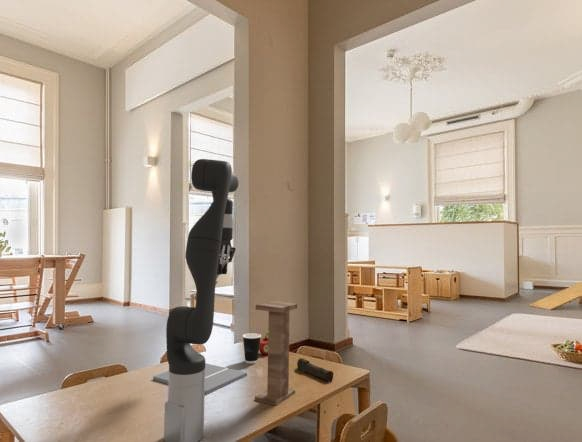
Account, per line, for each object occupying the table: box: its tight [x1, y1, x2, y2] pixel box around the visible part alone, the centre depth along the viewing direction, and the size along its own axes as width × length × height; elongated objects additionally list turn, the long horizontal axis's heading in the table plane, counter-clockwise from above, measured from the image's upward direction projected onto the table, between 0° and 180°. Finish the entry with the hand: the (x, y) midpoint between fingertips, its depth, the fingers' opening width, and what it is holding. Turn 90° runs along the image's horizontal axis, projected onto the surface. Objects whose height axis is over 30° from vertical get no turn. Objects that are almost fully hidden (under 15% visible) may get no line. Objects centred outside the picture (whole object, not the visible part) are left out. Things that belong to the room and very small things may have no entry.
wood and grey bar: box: [193, 257, 227, 301], centre depth 146 cm, size 4×19×3 cm
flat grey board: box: [152, 362, 248, 396], centre depth 147 cm, size 22×26×1 cm
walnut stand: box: [254, 300, 298, 406], centre depth 130 cm, size 12×10×30 cm
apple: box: [259, 330, 268, 355], centre depth 179 cm, size 8×7×10 cm
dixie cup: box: [242, 332, 262, 364], centre depth 167 cm, size 8×8×11 cm
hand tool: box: [296, 357, 334, 383], centre depth 152 cm, size 19×4×5 cm, turn 36°
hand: (221, 274), depth 144 cm, fingers closed on wood and grey bar, 2 cm apart
